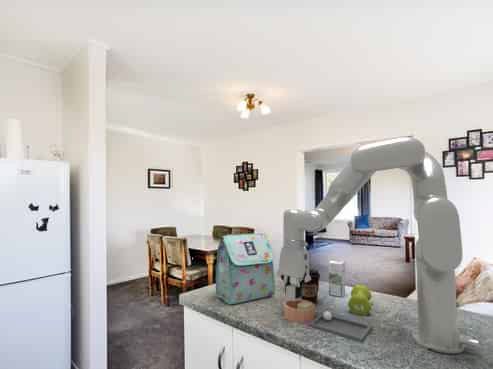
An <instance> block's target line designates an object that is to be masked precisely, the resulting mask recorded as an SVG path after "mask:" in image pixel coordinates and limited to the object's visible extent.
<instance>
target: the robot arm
mask: <svg viewBox="0 0 493 369" xmlns="http://www.w3.org/2000/svg"><path fill="white" fill-rule="evenodd" d="M393 169H400V170H403V171H405V172H407V174H408V175H409V177H410V180H411V188H412V196H413V215H414V219H415V220H416V223H417V232H418V238H417V240H416V242H415V245H414V256H415V258H414V259H415V268H416V269H415V271H416V295H417V296H416V297H417V302H416V303H417V327H418V328H417V329H415V330H413V331H412V338H413V340H414V341H415V342H416V343H417V344H419V345H421V346H423V347H425V348H427V349H428V350H430V351H435V352H438V353H441V354H450V355H454V354H461V353H463V352H465V349H466V347H465V346H469V347H471V348H476V349H479V340H478V339H474V338H473V336H471V335H465V334H462V333H461V332H460V327H458V317H457V316H458V315H457V314H458V313H457V310H458V309H457V281H456V269H458V268H459V266H460V265H461V264H462V260H463V242H462V241H463V240H462V233H461V232H462V231H461V223H460V222H461V221H460V215H459V211H458V209H457V207H456V205H454V203H453V202H452V201H451V200H449V199H448V193H447V192H448V191H447V186H446V178H445V174H444V170H443V168H442V166H441V164H440V162H439V161H438V159H437V158H435V157H434V156H433V155H432V154H431V153H430V152H428V151H426V148H425V146H424V144H423V143H422V141H421V140H419V139H417V138H415V137H409V136H408V137H400V138H394V139H390V140H385V141H379V142H372V143H367V144H363V145H360V146H358V147H356V148H355V149H354V150H353V152H352V153H351V156H350V159H349V162H347V164H345V166H344V167H343V168H342V170H341V171H339V173H338V174H337V175H336V177H335V178H333V179H332V182H331V183H330V184H329V188H328V191H327V193H326V195H325V196H324V197H323V199H322V200H321V201H320V202H319V203H318V204H317V206H316V207H315V208H314V209H311V210H302V209H285V210H284V211H283V218H282V220H283V222H282V223H283V224H282V226H283V227H282V228H283V230H282V232H283V234H282V238H283V240H282V247H280V248H281V249H280V254H279V260H278V261H279V262H278V264H279V265H278V269H277V272H276V274H277V276H278V277H280V278H281V280H282V282H283V284H285V286H284V292H285V294H284V295H285V296H286V286H288V285H290V284H291V283H290V278H291V277H295V278H296V284H297V286H296V287H295V288H296V289H295V298H299V297H300V298H301V295H302V285H303V284H304V283H305V282H308V281H310V280H311V277H310V275H309V269H310V263H309V255H308V254H309V253H308V251H307V250H308V249H307V248H305V247H308V245H309V243H308V242H306V240H305V232H309V233H317V232H320V231H322V230H324V229H325V228H327V227H328V226H329V225H330V224H331V222H332V221H333V220H334V219H335V218H336V217H337V215H339V213H341V211H342V209H344V208H345V207H346V206H347V205H348V203H350V202H351V201H352V199H353V198H354V197H355V196H356V195H357V193H358V192H360V190H361V189H362V188H363V187H364V185H365V184H366V183H367V182H368V181H369V180H370V179H371V178H372V177H373V176H374V175H375V173H376V172H378V171H379V172H381V171H387V170H393ZM304 276H305V279H303V278H304Z"/></svg>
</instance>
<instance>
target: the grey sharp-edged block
mask: <svg viewBox="0 0 493 369" xmlns="http://www.w3.org/2000/svg"><path fill="white" fill-rule="evenodd" d="M296 286H297V285H296V284H290V285H288V286H286V295H285V299H286V300H292V301H296V300H298V299H301V297H299V298H295V289H296V288H295V287H296Z"/></svg>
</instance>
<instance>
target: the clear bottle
mask: <svg viewBox="0 0 493 369" xmlns="http://www.w3.org/2000/svg"><path fill="white" fill-rule="evenodd" d="M345 262H346V261H344V260H335V259H331V260H330V261H328V288H329V289H328V294H329V296H331V297H337V298H343V297H344V296H346V266H345V265H346V263H345Z"/></svg>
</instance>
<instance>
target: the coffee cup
mask: <svg viewBox="0 0 493 369" xmlns="http://www.w3.org/2000/svg"><path fill="white" fill-rule="evenodd" d="M309 275H310V277H311V280H310V281H308V282H305V283H304V284H303V285H302V295H301V297H300V299H302V300H307V301H310V302H312V303H313V304H314V305H315V306H316V305H318V294H319V287H320V286H319V281H320V277H321V274H320V273H319V269H314V268H309ZM303 279H305V276H304V278H303Z"/></svg>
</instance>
